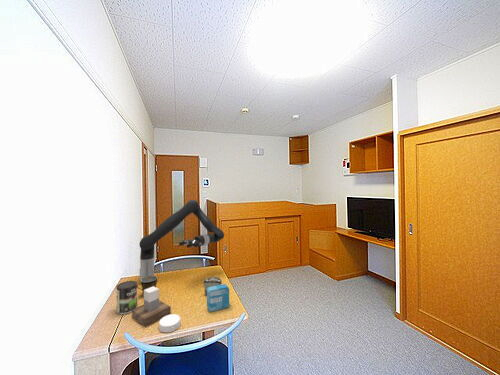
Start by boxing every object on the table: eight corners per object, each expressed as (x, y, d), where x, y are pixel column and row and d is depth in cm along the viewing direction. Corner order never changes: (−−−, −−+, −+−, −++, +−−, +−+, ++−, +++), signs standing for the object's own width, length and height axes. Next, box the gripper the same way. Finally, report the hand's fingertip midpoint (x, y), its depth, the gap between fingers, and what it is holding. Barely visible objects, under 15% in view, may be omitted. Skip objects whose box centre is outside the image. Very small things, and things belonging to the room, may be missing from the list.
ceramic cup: (152, 289, 147) (152, 274, 147) (160, 293, 142) (160, 277, 142) (132, 297, 137) (132, 281, 137) (141, 301, 131) (141, 285, 131)
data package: (208, 312, 119) (208, 290, 119) (206, 308, 123) (206, 287, 123) (229, 307, 124) (229, 286, 124) (226, 303, 128) (226, 283, 128)
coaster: (184, 321, 112) (183, 314, 112) (174, 334, 102) (174, 326, 102) (166, 319, 113) (166, 312, 113) (154, 332, 103) (154, 324, 103)
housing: (143, 308, 116) (143, 290, 116) (153, 304, 121) (153, 286, 121) (149, 312, 113) (148, 292, 113) (159, 307, 117) (158, 288, 117)
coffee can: (141, 306, 126) (141, 281, 126) (125, 316, 117) (125, 289, 117) (128, 303, 130) (128, 279, 130) (112, 312, 120) (111, 287, 120)
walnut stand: (132, 317, 115) (132, 309, 115) (156, 305, 127) (156, 298, 127) (145, 327, 107) (145, 319, 107) (170, 313, 118) (170, 306, 118)
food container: (224, 292, 142) (224, 276, 142) (222, 296, 136) (221, 280, 136) (206, 291, 143) (205, 276, 143) (203, 296, 137) (202, 280, 137)
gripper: (195, 234, 164) (176, 238, 151) (208, 236, 155) (189, 241, 142) (195, 244, 164) (176, 249, 151) (208, 246, 155) (189, 252, 142)
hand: (183, 245), depth 146 cm, fingers open, 8 cm apart
